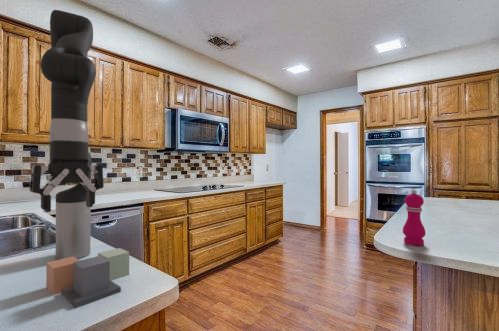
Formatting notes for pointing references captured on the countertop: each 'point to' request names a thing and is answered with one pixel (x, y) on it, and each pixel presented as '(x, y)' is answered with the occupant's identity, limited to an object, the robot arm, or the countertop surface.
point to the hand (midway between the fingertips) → (69, 209)
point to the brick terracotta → (59, 274)
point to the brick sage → (117, 262)
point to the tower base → (89, 297)
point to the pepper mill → (414, 220)
